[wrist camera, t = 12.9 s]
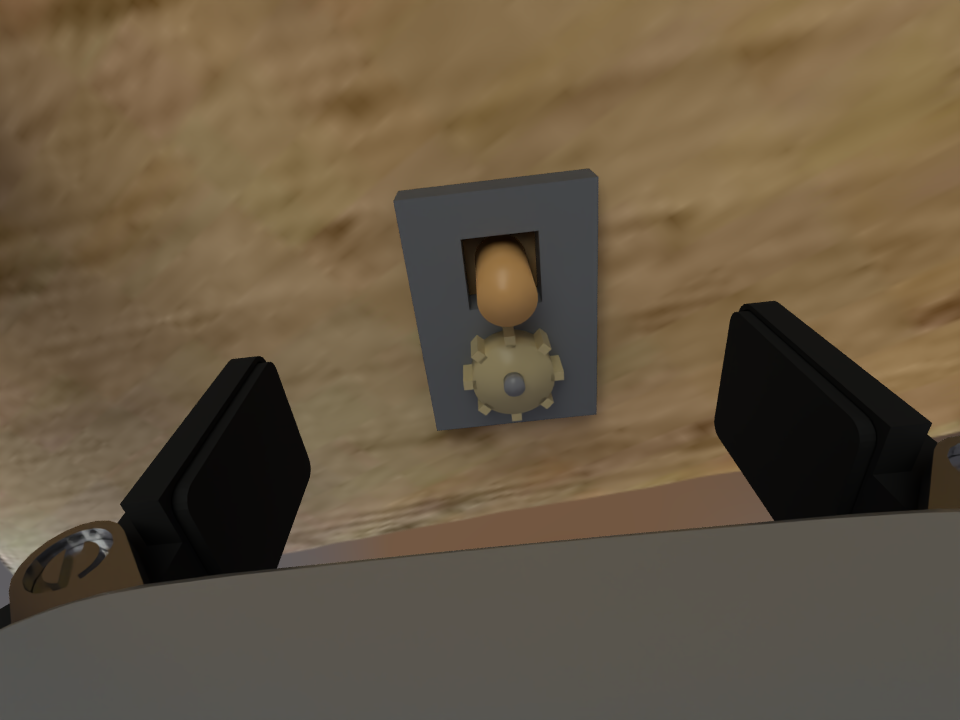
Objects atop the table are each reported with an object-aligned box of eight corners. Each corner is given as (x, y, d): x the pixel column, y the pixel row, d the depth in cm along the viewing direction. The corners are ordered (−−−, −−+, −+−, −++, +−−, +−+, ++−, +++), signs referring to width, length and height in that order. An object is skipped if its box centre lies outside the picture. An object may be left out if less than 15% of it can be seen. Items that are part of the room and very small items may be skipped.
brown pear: (472, 236, 40) (473, 274, 33) (523, 230, 40) (536, 267, 33) (477, 284, 42) (480, 330, 35) (527, 279, 42) (539, 323, 35)
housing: (398, 191, 38) (386, 214, 32) (589, 168, 37) (610, 188, 32) (438, 410, 48) (435, 457, 42) (589, 394, 48) (605, 440, 42)
